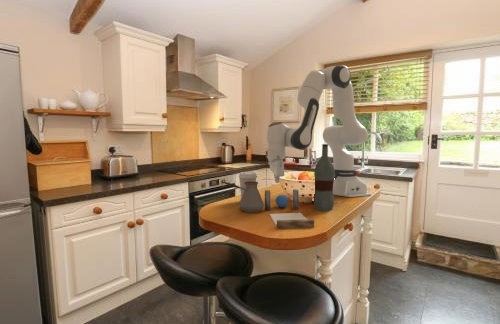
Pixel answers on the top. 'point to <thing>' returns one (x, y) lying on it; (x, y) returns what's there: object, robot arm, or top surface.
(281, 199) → the ball
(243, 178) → the coffee cup
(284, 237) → the top surface
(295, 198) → the right post
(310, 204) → the top surface
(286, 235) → the top surface
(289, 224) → the wall
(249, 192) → the coffee pot
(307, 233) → the top surface
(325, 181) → the bottle
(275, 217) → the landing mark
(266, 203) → the left post
